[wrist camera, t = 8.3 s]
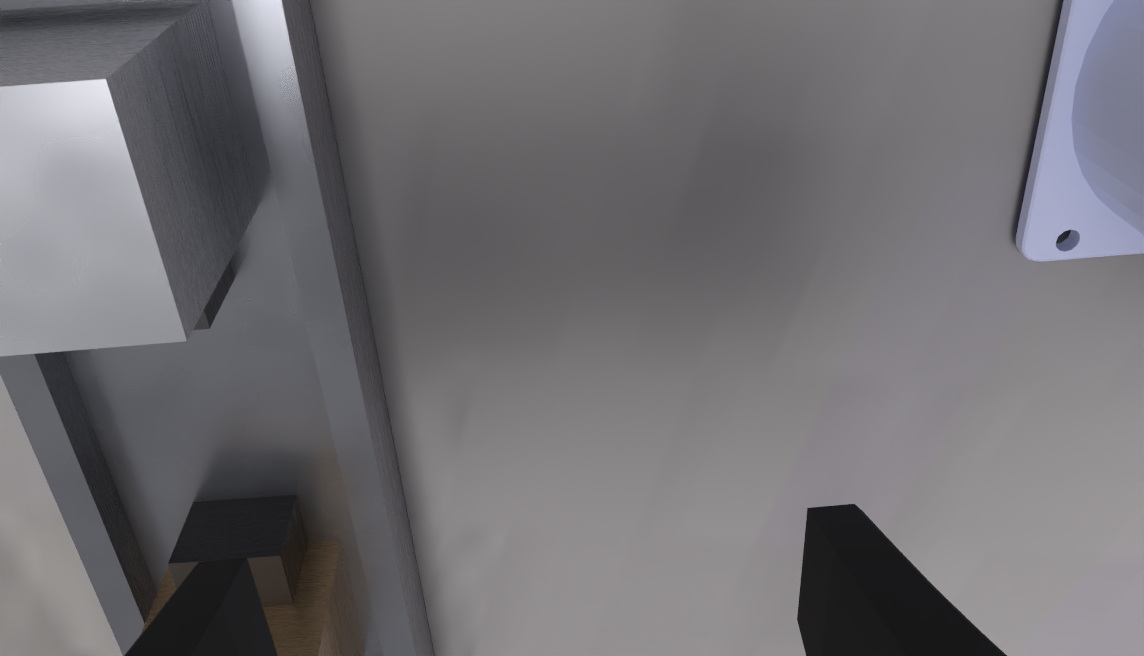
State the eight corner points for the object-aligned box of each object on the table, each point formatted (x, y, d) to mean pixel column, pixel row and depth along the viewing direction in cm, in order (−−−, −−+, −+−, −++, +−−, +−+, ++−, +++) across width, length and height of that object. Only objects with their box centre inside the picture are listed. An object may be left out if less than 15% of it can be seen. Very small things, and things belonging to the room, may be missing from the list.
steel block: (206, -4, 17) (106, 79, 12) (274, 275, 20) (212, 421, 15) (-27, 13, 17) (-210, 102, 12) (75, 290, 19) (-44, 442, 15)
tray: (293, -82, 17) (268, -62, 15) (436, 667, 28) (431, 733, 26) (-102, -54, 17) (-176, -31, 15) (190, 689, 27) (168, 759, 25)
